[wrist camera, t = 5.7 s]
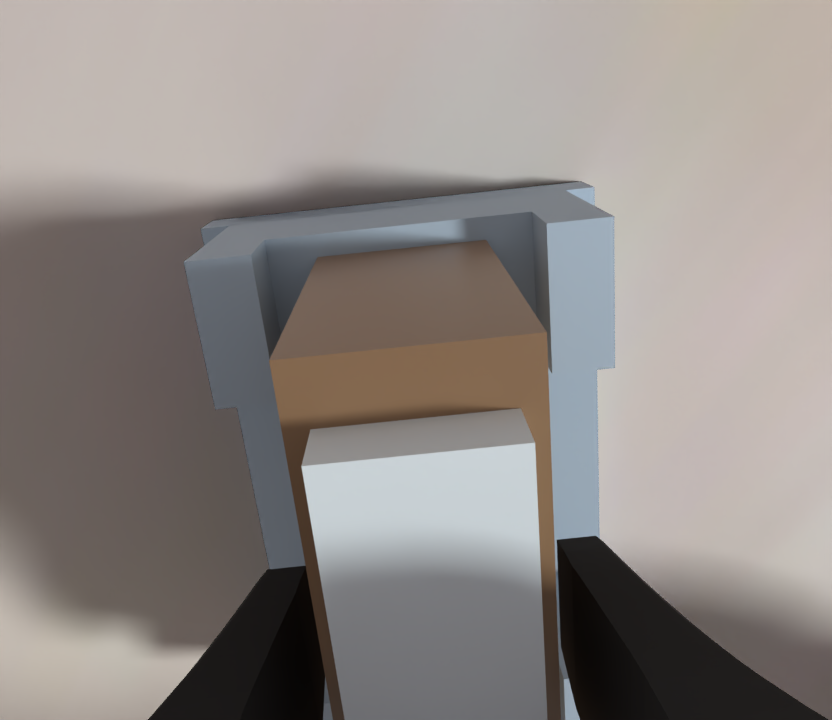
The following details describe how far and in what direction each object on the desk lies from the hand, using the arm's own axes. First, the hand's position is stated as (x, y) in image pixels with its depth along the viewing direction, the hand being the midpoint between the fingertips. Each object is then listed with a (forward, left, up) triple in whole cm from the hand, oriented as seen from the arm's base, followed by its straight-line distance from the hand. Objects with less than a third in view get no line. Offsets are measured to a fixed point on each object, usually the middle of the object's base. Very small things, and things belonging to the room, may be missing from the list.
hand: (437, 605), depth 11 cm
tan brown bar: (0, 0, -3) cm, 3 cm away
